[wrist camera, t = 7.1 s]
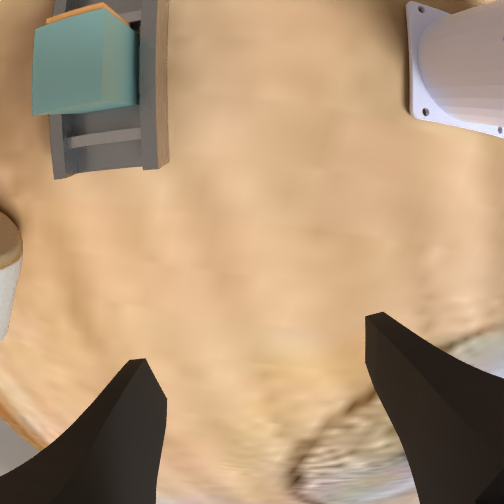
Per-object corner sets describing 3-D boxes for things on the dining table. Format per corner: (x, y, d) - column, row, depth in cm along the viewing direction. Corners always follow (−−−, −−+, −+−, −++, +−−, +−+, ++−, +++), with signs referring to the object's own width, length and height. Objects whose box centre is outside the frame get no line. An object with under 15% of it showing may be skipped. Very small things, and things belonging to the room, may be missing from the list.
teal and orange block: (139, 26, 13) (106, -3, 8) (138, 104, 15) (101, 100, 10) (82, 38, 13) (36, 19, 8) (81, 113, 15) (32, 115, 10)
